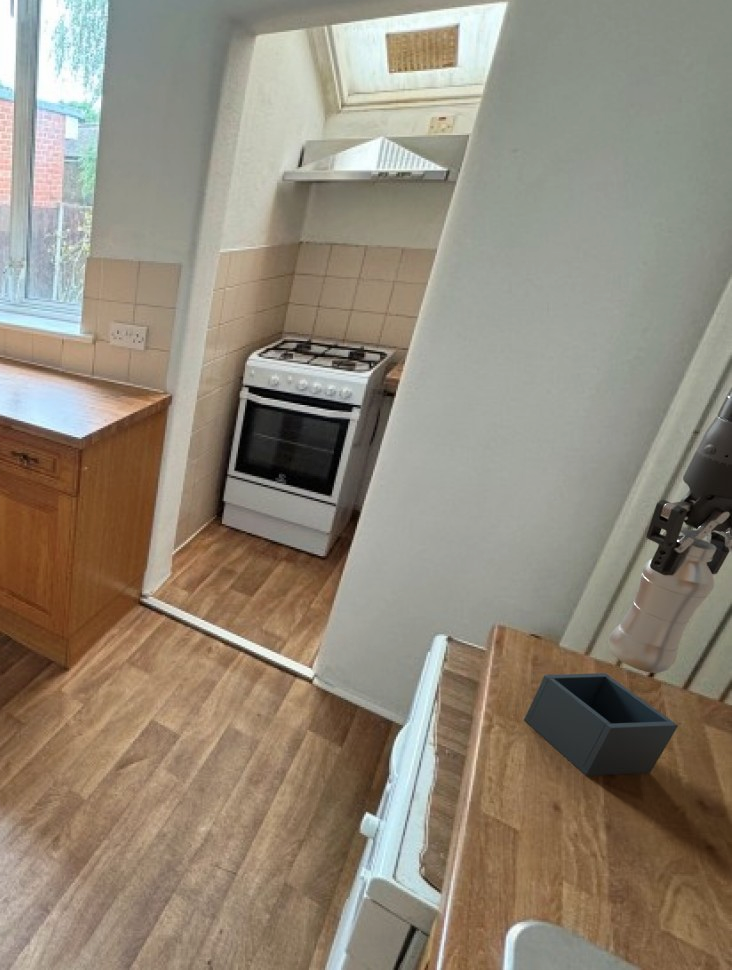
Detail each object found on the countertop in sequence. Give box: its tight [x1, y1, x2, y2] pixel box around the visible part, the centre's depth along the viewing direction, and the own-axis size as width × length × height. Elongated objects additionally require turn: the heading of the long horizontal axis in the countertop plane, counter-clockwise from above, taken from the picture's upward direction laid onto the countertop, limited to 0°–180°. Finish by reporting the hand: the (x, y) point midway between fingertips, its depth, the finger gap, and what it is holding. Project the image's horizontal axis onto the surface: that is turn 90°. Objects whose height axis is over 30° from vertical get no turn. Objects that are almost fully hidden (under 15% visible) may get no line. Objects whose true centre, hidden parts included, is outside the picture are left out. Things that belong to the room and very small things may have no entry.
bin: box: [523, 672, 679, 777], centre depth 95 cm, size 11×11×10 cm
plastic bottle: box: [607, 534, 717, 674], centre depth 82 cm, size 6×7×20 cm
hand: (682, 571), depth 80 cm, fingers closed on plastic bottle, 5 cm apart
